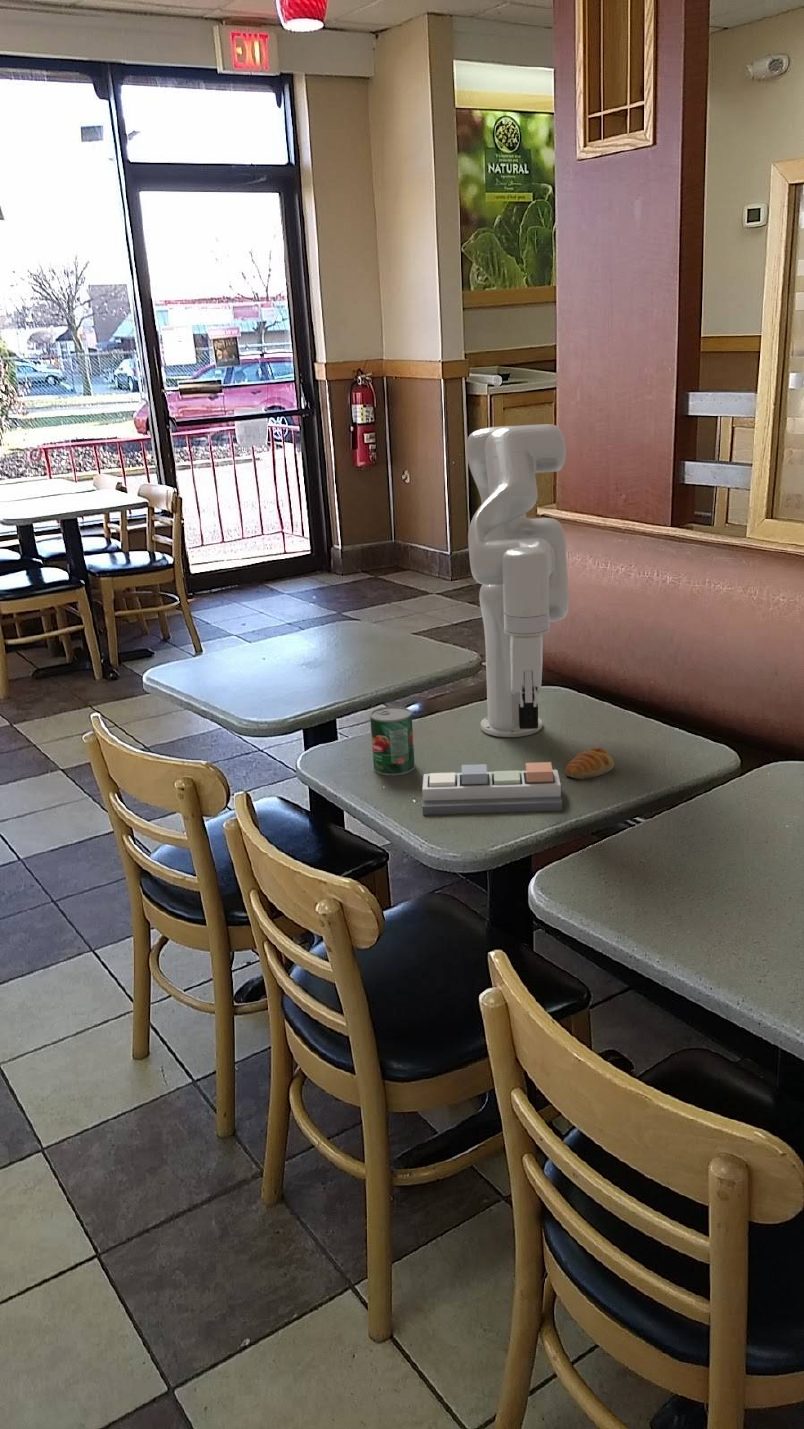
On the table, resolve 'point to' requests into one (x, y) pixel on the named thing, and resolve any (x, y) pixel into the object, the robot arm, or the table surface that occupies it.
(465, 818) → the table surface
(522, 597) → the robot arm
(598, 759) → the pastry
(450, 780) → the ivory key
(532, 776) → the terracotta key
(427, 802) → the keypad
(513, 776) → the sage key
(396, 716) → the canned tomato
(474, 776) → the slate key
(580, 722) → the table surface
